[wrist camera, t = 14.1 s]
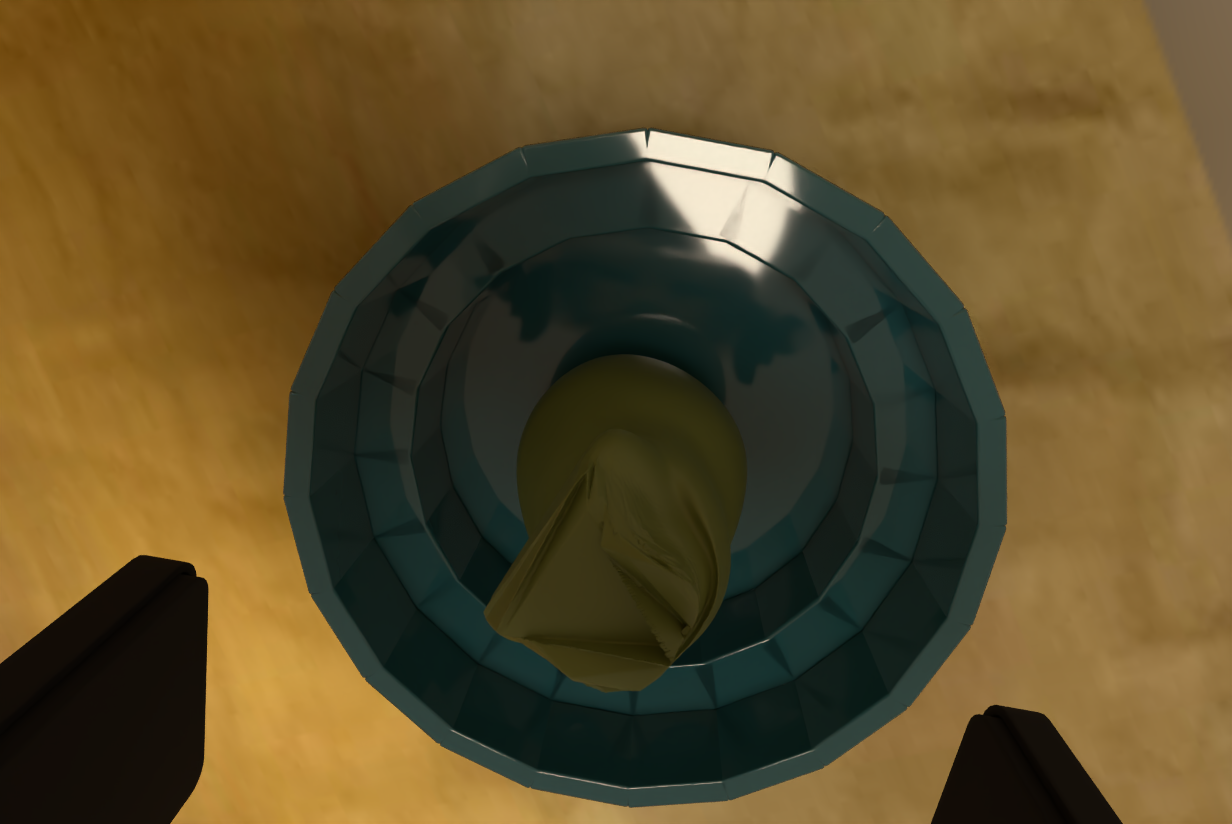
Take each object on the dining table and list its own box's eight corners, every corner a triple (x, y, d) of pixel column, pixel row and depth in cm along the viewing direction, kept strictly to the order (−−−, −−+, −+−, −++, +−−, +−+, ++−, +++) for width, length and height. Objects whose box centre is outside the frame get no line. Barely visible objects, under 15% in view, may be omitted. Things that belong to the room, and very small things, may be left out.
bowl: (357, 610, 25) (266, 739, 20) (406, 92, 21) (308, 64, 15) (841, 702, 25) (892, 859, 20) (993, 201, 21) (1118, 214, 15)
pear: (658, 557, 24) (652, 823, 14) (498, 463, 23) (378, 672, 13) (769, 399, 22) (848, 577, 12) (601, 295, 21) (548, 396, 12)
